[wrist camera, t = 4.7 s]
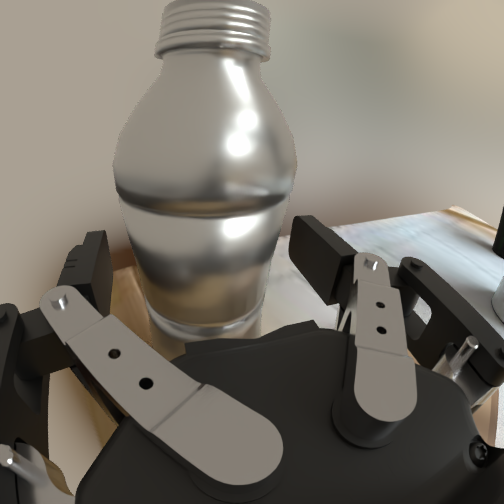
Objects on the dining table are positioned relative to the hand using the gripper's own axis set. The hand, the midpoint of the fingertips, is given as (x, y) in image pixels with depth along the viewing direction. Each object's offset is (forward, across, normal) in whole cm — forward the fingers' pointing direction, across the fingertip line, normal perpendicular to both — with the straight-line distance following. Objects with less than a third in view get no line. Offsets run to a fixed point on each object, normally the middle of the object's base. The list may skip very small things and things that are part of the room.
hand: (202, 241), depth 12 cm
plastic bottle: (0, 0, +11) cm, 11 cm away
